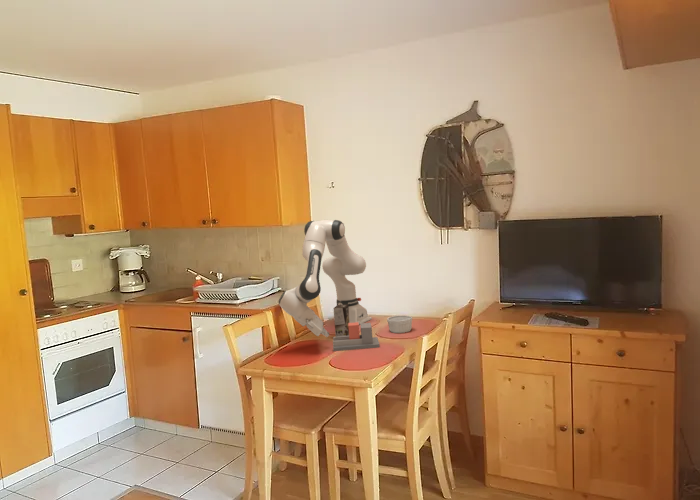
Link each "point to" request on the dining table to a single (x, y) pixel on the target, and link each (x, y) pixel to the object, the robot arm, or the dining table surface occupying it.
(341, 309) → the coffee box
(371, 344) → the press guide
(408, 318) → the ramekin
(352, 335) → the red upright block
